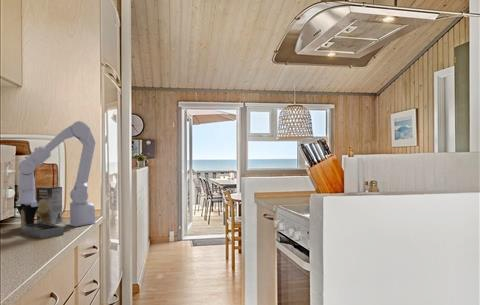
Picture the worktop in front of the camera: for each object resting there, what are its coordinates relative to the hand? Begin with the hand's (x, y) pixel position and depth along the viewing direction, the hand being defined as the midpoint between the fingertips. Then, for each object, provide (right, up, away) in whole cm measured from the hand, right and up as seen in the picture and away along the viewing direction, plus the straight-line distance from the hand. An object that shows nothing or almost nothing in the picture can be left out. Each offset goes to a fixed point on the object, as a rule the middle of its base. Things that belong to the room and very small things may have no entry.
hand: (27, 223), depth 148 cm
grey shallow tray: (+11, -2, -9) cm, 14 cm away
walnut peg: (0, -2, 0) cm, 2 cm away
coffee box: (+1, -3, +14) cm, 15 cm away
